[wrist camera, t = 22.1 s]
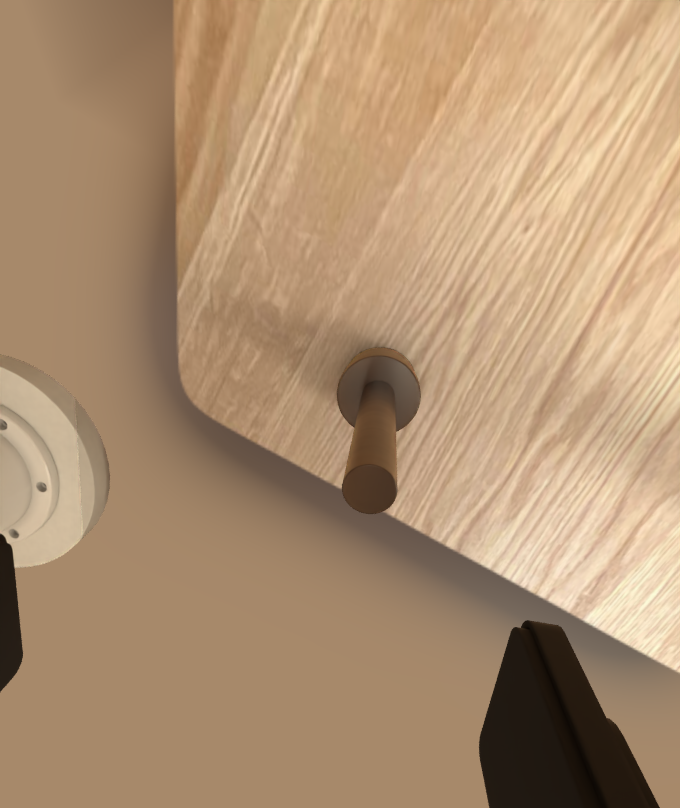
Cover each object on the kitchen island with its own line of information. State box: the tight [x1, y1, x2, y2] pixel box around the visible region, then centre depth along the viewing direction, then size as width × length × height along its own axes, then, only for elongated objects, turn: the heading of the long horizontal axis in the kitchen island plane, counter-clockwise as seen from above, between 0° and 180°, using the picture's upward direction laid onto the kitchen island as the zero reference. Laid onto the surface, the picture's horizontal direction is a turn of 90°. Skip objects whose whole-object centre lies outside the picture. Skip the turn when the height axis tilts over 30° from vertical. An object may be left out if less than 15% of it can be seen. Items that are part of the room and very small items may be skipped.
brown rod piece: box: [337, 347, 421, 514], centre depth 24 cm, size 5×5×15 cm
